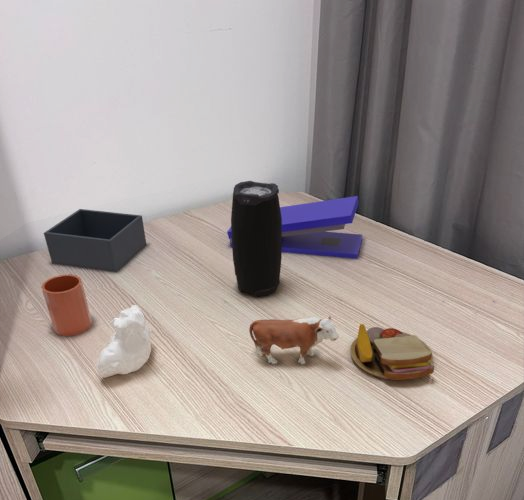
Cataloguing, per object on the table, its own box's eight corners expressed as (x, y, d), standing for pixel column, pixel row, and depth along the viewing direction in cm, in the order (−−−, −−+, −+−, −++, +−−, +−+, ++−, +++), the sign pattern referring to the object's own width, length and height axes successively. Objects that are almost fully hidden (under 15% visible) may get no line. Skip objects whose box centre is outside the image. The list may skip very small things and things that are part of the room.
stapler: (356, 261, 111) (361, 215, 105) (226, 249, 117) (224, 205, 111) (362, 238, 120) (366, 195, 114) (241, 228, 126) (239, 186, 120)
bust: (112, 399, 81) (143, 361, 73) (72, 366, 80) (99, 325, 72) (154, 354, 90) (185, 317, 82) (118, 324, 89) (146, 284, 81)
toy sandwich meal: (422, 335, 89) (426, 311, 86) (441, 388, 78) (447, 362, 75) (346, 335, 89) (348, 311, 86) (355, 388, 78) (357, 362, 76)
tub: (52, 264, 112) (43, 232, 108) (86, 238, 122) (79, 208, 118) (117, 273, 109) (110, 241, 104) (146, 246, 119) (142, 215, 115)
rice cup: (46, 334, 91) (33, 290, 86) (68, 314, 96) (56, 272, 91) (79, 339, 90) (67, 295, 85) (99, 319, 95) (88, 277, 90)
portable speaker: (287, 281, 105) (289, 181, 93) (269, 304, 98) (268, 200, 86) (247, 273, 107) (244, 175, 96) (226, 295, 101) (220, 193, 89)
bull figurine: (335, 372, 82) (339, 327, 77) (248, 364, 83) (246, 320, 79) (337, 354, 85) (340, 311, 80) (253, 348, 87) (252, 305, 82)
